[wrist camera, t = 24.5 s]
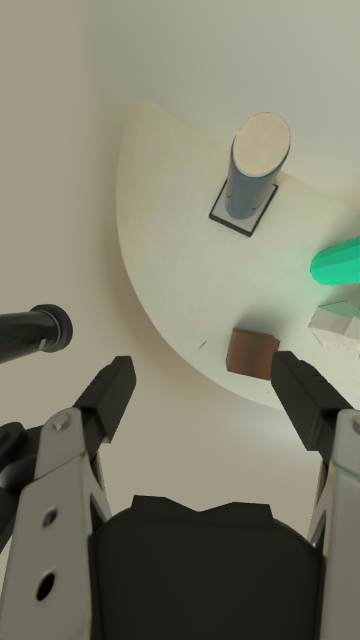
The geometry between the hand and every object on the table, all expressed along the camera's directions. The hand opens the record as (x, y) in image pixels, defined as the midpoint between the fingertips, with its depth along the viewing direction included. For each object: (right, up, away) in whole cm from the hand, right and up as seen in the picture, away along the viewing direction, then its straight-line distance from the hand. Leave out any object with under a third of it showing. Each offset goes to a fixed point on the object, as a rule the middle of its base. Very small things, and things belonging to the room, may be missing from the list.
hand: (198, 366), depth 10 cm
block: (+12, -3, +23) cm, 26 cm away
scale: (+9, +22, +19) cm, 31 cm away
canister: (+9, +22, +18) cm, 30 cm away
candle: (+24, +11, +19) cm, 32 cm away
